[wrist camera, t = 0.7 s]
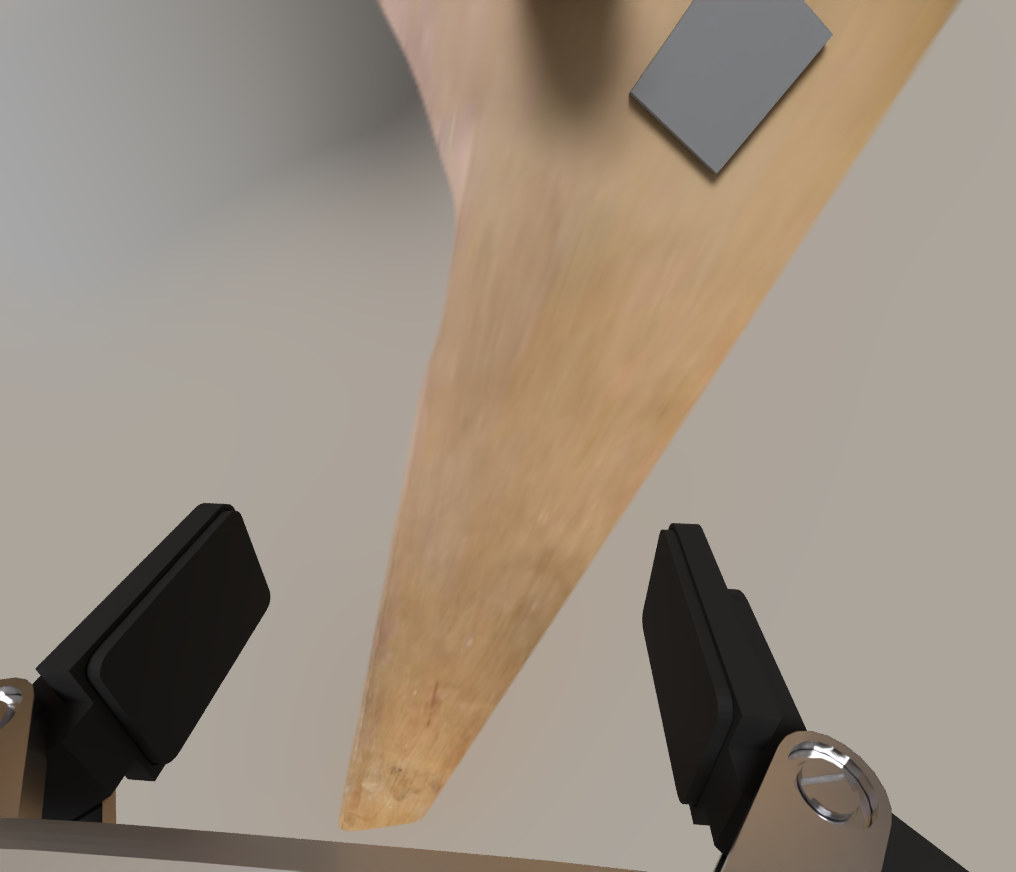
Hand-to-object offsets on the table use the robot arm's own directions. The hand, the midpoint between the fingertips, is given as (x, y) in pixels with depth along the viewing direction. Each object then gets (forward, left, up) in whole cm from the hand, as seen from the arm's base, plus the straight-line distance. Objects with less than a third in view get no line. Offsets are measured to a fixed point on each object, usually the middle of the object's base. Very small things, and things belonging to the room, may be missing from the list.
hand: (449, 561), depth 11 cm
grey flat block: (-17, +2, -27) cm, 32 cm away
